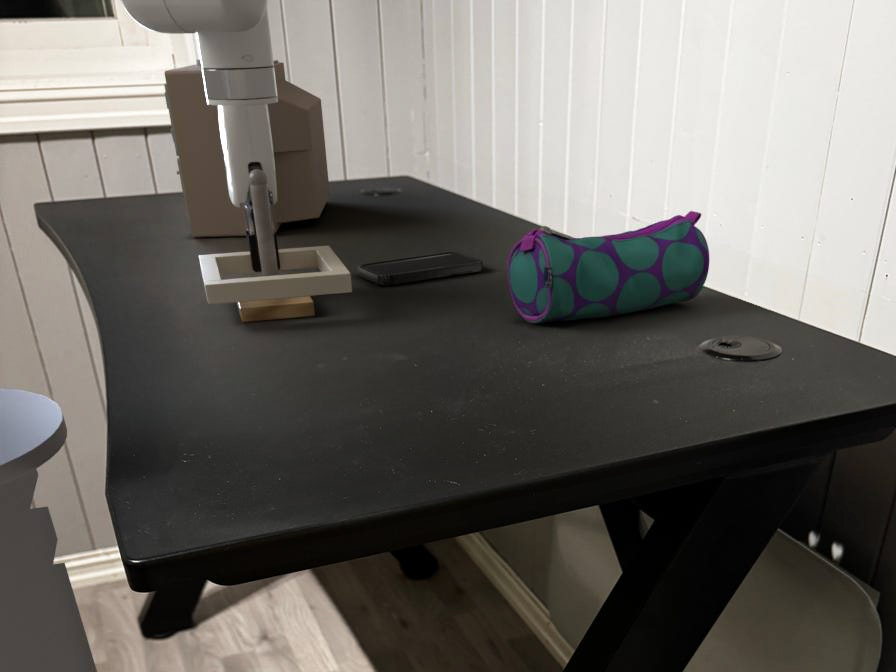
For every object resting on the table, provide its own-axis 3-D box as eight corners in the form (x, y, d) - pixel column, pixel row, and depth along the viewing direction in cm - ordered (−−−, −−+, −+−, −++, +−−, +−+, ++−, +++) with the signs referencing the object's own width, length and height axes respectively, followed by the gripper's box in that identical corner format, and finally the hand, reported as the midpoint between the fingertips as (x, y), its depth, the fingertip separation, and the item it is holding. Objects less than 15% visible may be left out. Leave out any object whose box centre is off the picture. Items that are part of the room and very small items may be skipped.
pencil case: (542, 335, 97) (545, 236, 91) (505, 315, 103) (505, 221, 98) (708, 310, 104) (719, 217, 98) (663, 293, 110) (671, 204, 105)
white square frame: (208, 304, 97) (204, 284, 96) (201, 273, 110) (198, 255, 108) (352, 292, 101) (350, 273, 100) (330, 263, 113) (328, 245, 112)
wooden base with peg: (242, 322, 103) (219, 176, 95) (236, 304, 109) (215, 166, 101) (315, 315, 104) (299, 171, 96) (305, 298, 111) (289, 162, 103)
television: (222, 200, 173) (181, -71, 151) (333, 197, 174) (308, -73, 152) (182, 238, 143) (123, -93, 121) (316, 235, 144) (282, -95, 122)
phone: (354, 265, 120) (455, 250, 126) (355, 274, 120) (455, 259, 127) (381, 277, 114) (486, 261, 121) (382, 286, 115) (486, 270, 121)
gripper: (201, 84, 106) (228, 257, 116) (208, 93, 93) (238, 286, 103) (268, 82, 107) (289, 252, 118) (284, 91, 95) (306, 280, 105)
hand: (265, 267), depth 110 cm, fingers closed on white square frame, 1 cm apart
